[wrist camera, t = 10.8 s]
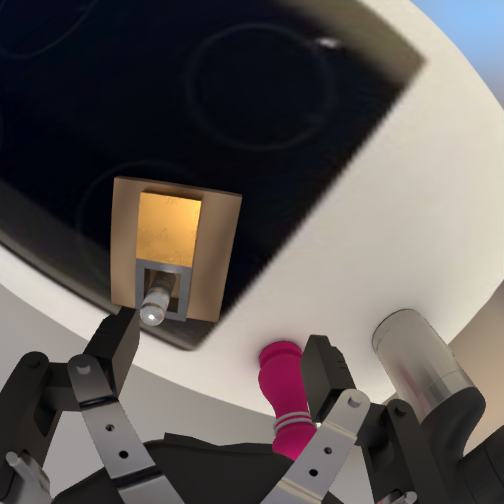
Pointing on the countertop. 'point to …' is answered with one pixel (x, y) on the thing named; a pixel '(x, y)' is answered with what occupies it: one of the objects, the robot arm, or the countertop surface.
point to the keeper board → (206, 255)
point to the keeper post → (157, 298)
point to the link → (167, 242)
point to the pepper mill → (286, 398)
